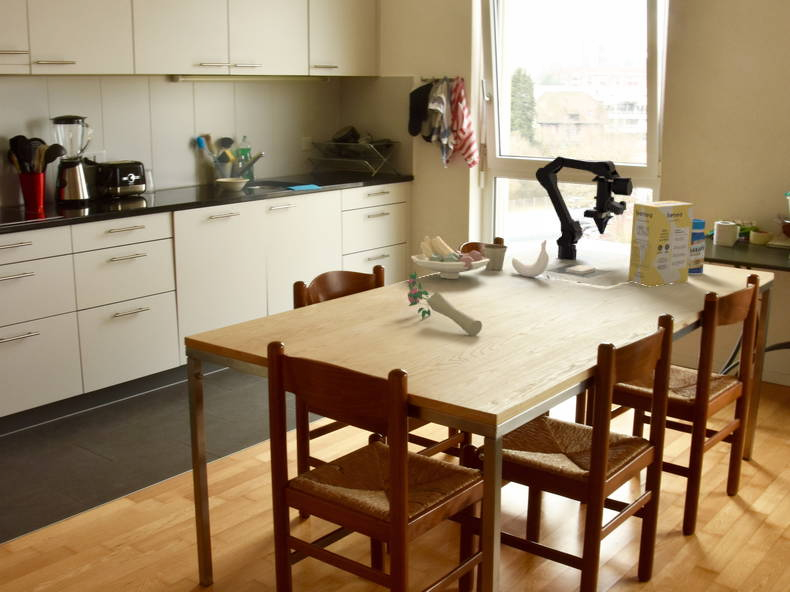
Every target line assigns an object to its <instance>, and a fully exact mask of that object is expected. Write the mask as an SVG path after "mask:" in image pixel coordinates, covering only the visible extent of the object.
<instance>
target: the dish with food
mask: <svg viewBox="0 0 790 592" xmlns="http://www.w3.org/2000/svg"><path fill="white" fill-rule="evenodd" d="M423 240H424V242H422V241H421V243H420V245H419V246H420V249H421V252H422V253H420V254H415V255H411V257H410V258H411V259H412V262H413V263H415V264H416V265H418V266H420V267H421V268H424V269H426V270H428V271H433V272H437V273H439V275H440V276H439V277H440V278H442V279H451V280H452V279H459V278H460V273H465V272H470V271H473V270H474V271H475V270H478V269H480V268H483V267H486V265H487V263H488V262H489V259H487V258H485V256H483V255H482V253H481V252H479V251H477V250H471V251H470V252H468V253H460V252H456V251H455V250H453V249H452V248H451V247H450V246H449V245H448V244H447V243H446V242H445V241H444V240H443V239H442V238H441V237H440V236H438V235H435V237H434V238H432V239H431V238H430V236H428V235H425V236H424V238H423Z"/></svg>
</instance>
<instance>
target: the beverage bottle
mask: <svg viewBox="0 0 790 592" xmlns="http://www.w3.org/2000/svg"><path fill="white" fill-rule="evenodd" d="M705 229H706V220H704V219H700V218H693V223H692V235H691V246H690V258H689V270H688V276H700V275H701V276H702V274H704V263H705V253H706V251H705V250H706V248H707V246H706V241H707V237H706V234H705V232H704V230H705Z"/></svg>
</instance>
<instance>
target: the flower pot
mask: <svg viewBox="0 0 790 592" xmlns="http://www.w3.org/2000/svg"><path fill="white" fill-rule="evenodd" d="M482 248H483V252H484V257H485V258H487V259H489V262H488V263H487V265H485V269H486V270H489V271H492V270H494V271H500V270H502V269H503V268H504V260H505V257H506V256H505V255H506V252H507V249H508V246H506V245H505V244H494V243H493V244H491V243H490V244H483V245H482Z"/></svg>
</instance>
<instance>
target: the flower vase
mask: <svg viewBox="0 0 790 592" xmlns="http://www.w3.org/2000/svg"><path fill="white" fill-rule="evenodd" d="M409 277H410V278H409V279H408V282H407V283H408V287H409V288H408V289H409V292H408V293H407V299H408V301H409V303H410V304H408V307H413V306H417V304H418V305H421V304H422V303H420V300H423V299H424V300H425V301H426V303H427V304H426V303H424V305H425V306H426V308H427V309H425V307H420V308H419V309H418V310H417V314H419V313H421V318H422V319H424V318H425V317H426V315H427V316H431V310H432V311H434V312H437V313H438V314H441V315H443V316H445V317H447V318H449V319H450V320H452V321H453V322H454V323H456V324H457V325H458V326H459V327H460V328H461V329H462V330H464V332H466V334H468V335H469V336H471V337H474V336H477V335H479V333H480V332H481V331H482V328H483V324H482V321H481V320H479V319H477V318H474V317H473V316H472V315H469V314H468V313H466V312H464V311H462V310H460V309H459V308H457V307H456V306H455V305H454V304H453V303H452V302H451V301H449V300H448V299H447V298H446V297H445V296H443V295H442V294H441V293H440V292H439V291H437V290H436V291H435V292H434V293H433V294H432V295H431V296H430V297H429V295H430V294H429V292H428V291H427V290H424V288H423V287H424V285H422V284H421V282H419V277H418V274H417V271H416V270H415V271H414V272H413V274H409ZM417 282H418V283H417ZM415 285H416V286H418V288H417V287H416V288H414V287H415ZM423 295H424V296H425V297H424V296H423ZM429 307H430V308H431V309H430V308H429Z"/></svg>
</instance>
